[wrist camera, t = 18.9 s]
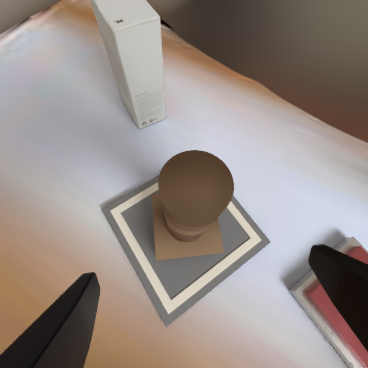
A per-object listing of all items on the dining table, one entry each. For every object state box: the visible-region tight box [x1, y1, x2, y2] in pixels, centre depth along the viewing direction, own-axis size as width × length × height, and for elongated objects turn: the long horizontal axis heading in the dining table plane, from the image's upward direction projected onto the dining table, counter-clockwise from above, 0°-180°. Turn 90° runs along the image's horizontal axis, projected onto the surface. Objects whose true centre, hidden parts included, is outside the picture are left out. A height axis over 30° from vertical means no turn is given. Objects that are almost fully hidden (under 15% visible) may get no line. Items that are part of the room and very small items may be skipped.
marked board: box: [102, 176, 270, 327], centre depth 21 cm, size 13×13×1 cm
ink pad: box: [289, 237, 368, 368], centre depth 19 cm, size 9×9×2 cm
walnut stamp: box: [152, 150, 234, 261], centre depth 15 cm, size 6×6×12 cm
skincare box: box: [90, 0, 166, 129], centre depth 22 cm, size 6×4×12 cm
